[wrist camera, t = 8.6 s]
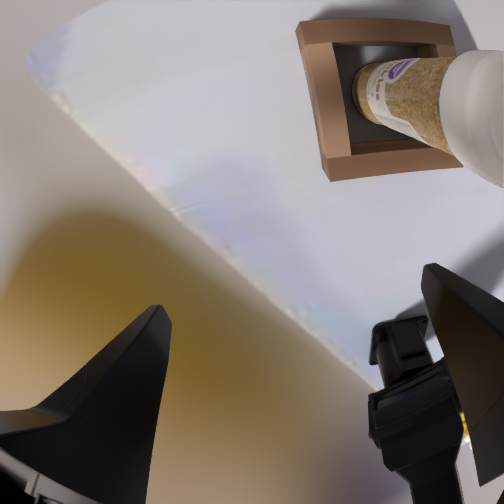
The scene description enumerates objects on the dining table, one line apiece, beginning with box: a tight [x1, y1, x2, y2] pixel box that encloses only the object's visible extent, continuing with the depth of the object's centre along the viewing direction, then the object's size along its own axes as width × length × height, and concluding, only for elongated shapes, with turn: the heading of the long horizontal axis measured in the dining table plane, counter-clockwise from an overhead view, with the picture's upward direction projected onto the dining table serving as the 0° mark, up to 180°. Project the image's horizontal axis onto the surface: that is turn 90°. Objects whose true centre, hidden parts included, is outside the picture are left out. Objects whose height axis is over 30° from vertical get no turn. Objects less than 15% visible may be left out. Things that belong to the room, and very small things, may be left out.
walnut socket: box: [295, 18, 463, 182], centre depth 15 cm, size 10×10×3 cm
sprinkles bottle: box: [352, 50, 504, 188], centre depth 11 cm, size 5×5×13 cm
